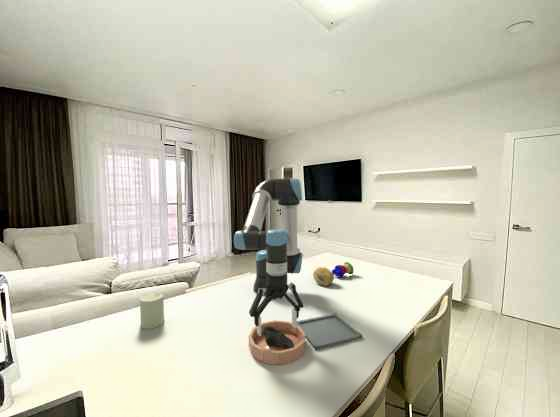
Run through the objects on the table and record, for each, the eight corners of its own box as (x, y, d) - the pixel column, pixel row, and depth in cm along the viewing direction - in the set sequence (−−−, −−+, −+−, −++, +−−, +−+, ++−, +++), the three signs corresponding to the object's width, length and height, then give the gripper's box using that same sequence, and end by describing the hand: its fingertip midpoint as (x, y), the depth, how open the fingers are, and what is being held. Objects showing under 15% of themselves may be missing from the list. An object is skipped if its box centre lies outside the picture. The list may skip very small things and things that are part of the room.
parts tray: (294, 324, 103) (294, 321, 103) (335, 316, 110) (335, 313, 110) (315, 350, 86) (315, 346, 86) (362, 338, 93) (362, 335, 93)
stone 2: (336, 284, 149) (336, 268, 149) (324, 288, 143) (325, 271, 143) (321, 279, 159) (321, 264, 159) (310, 282, 153) (310, 266, 153)
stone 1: (288, 356, 82) (288, 341, 82) (258, 342, 90) (258, 328, 89) (298, 346, 87) (298, 332, 87) (269, 333, 95) (269, 320, 95)
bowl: (244, 336, 95) (244, 326, 94) (291, 326, 102) (291, 317, 101) (257, 371, 76) (257, 358, 76) (314, 356, 83) (314, 344, 83)
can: (169, 319, 108) (168, 293, 107) (152, 330, 99) (151, 301, 98) (153, 316, 111) (152, 290, 110) (135, 326, 102) (134, 298, 101)
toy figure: (340, 283, 159) (357, 275, 165) (339, 269, 157) (356, 262, 163) (331, 277, 167) (347, 270, 173) (330, 265, 165) (346, 258, 171)
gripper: (244, 280, 79) (245, 343, 81) (312, 272, 88) (312, 328, 89) (240, 273, 87) (241, 331, 88) (303, 266, 95) (303, 319, 96)
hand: (277, 330), depth 88 cm, fingers open, 13 cm apart
